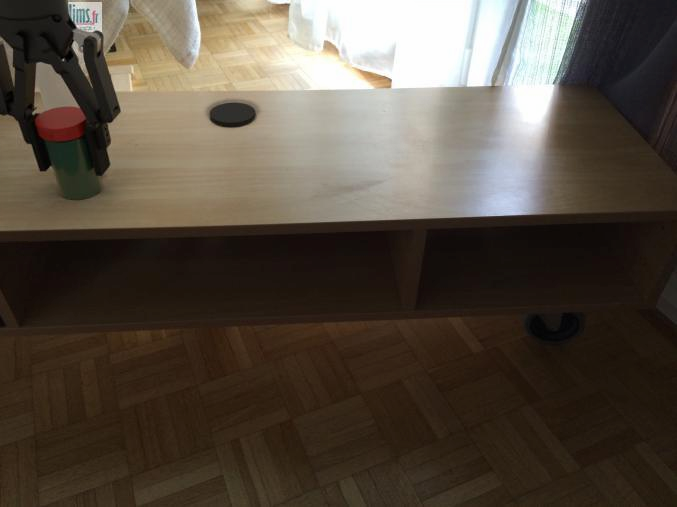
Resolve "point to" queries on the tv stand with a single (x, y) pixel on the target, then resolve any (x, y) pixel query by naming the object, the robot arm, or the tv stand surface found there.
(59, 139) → the jar lid
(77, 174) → the jar
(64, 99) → the can
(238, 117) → the coaster
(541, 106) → the tv stand surface
